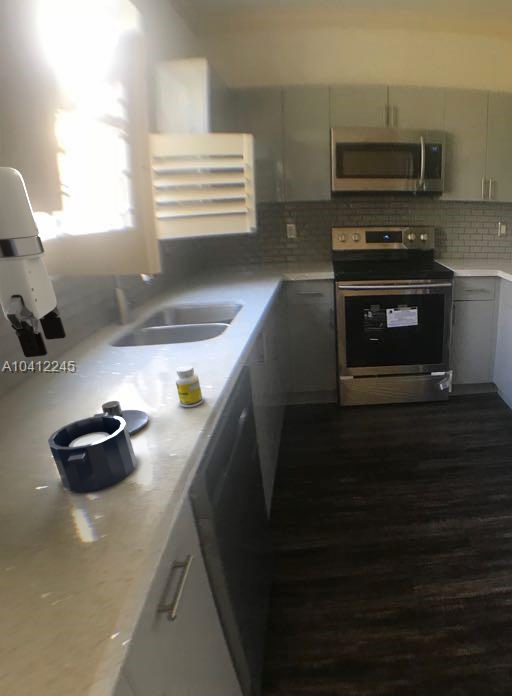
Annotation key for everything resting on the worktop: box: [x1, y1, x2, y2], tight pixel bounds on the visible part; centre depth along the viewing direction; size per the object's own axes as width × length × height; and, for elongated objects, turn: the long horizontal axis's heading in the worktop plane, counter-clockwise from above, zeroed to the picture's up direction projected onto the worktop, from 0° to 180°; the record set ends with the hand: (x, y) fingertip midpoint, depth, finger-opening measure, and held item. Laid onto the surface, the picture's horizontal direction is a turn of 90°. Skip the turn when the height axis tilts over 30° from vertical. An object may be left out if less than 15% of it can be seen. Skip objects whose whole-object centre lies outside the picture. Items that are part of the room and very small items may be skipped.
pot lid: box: [101, 400, 149, 436], centre depth 106 cm, size 14×14×6 cm
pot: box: [47, 412, 137, 494], centre depth 89 cm, size 13×18×10 cm
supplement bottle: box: [175, 365, 204, 408], centre depth 117 cm, size 5×5×10 cm
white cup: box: [69, 432, 110, 447], centre depth 89 cm, size 7×7×7 cm
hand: (46, 346), depth 82 cm, fingers open, 9 cm apart
